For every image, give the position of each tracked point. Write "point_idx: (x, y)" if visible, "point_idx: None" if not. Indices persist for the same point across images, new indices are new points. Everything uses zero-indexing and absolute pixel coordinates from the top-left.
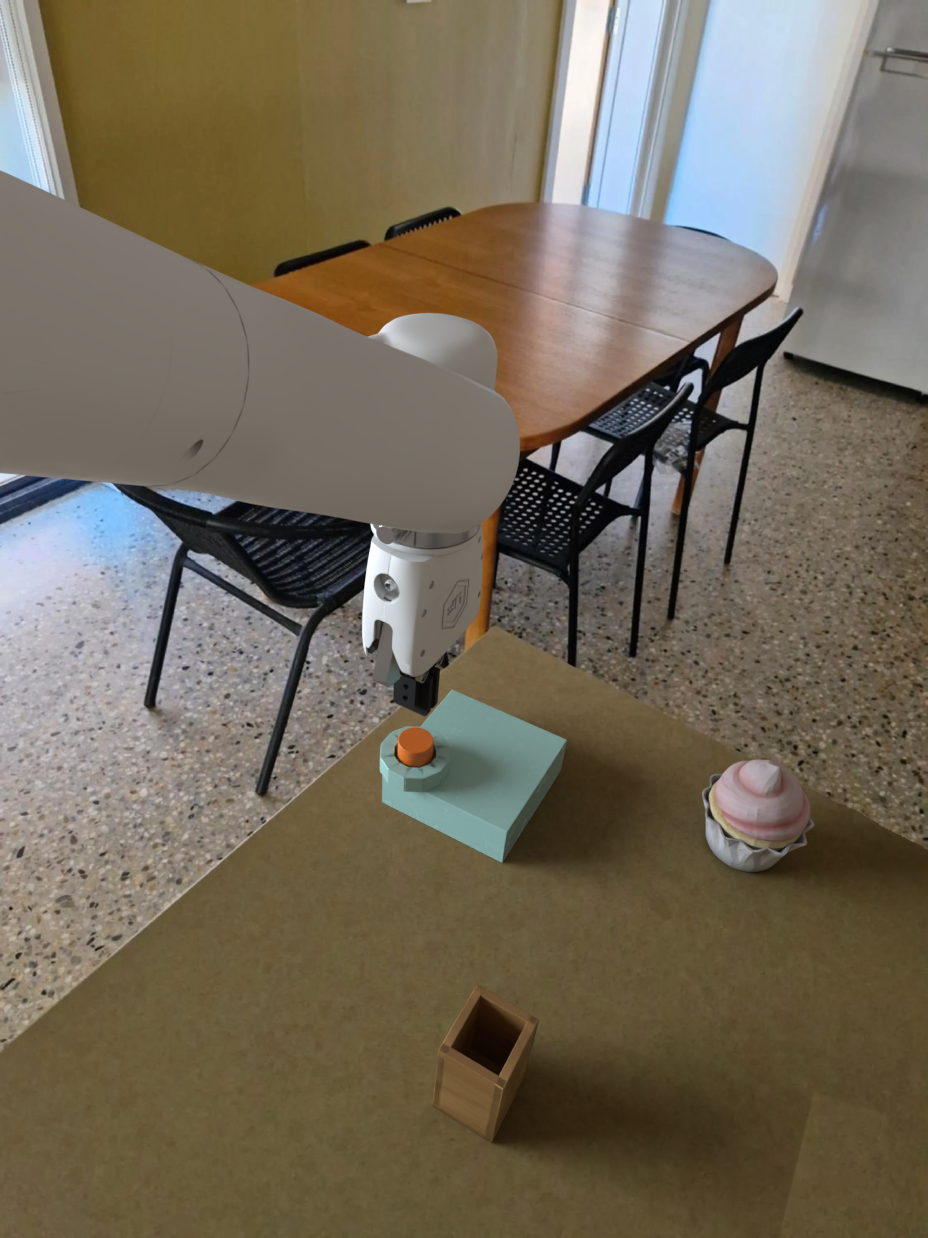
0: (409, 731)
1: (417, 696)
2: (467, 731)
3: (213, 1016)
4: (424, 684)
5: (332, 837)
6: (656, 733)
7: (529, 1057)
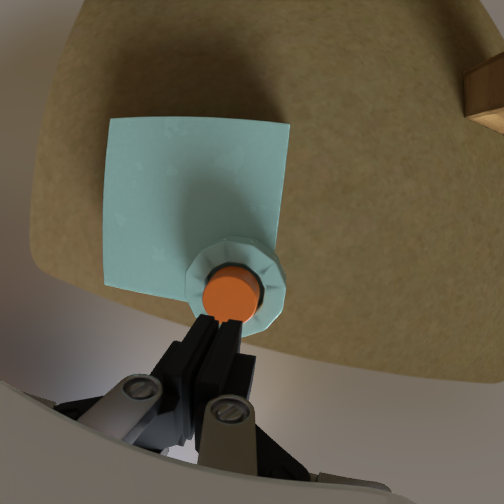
0: (218, 316)
1: (240, 369)
2: (151, 240)
3: (490, 309)
4: (223, 381)
5: (331, 316)
6: (65, 73)
7: (480, 63)
